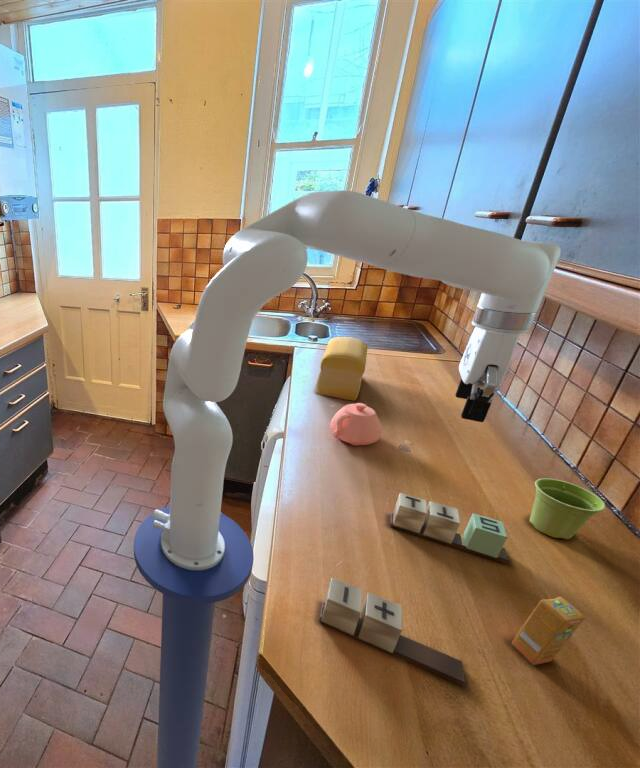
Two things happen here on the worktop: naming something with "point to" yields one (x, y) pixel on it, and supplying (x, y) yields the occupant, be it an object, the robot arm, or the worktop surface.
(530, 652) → the supplement box
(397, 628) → the front word
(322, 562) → the worktop surface
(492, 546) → the pale green cube
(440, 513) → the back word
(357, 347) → the bread
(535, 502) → the plant pot
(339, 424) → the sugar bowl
